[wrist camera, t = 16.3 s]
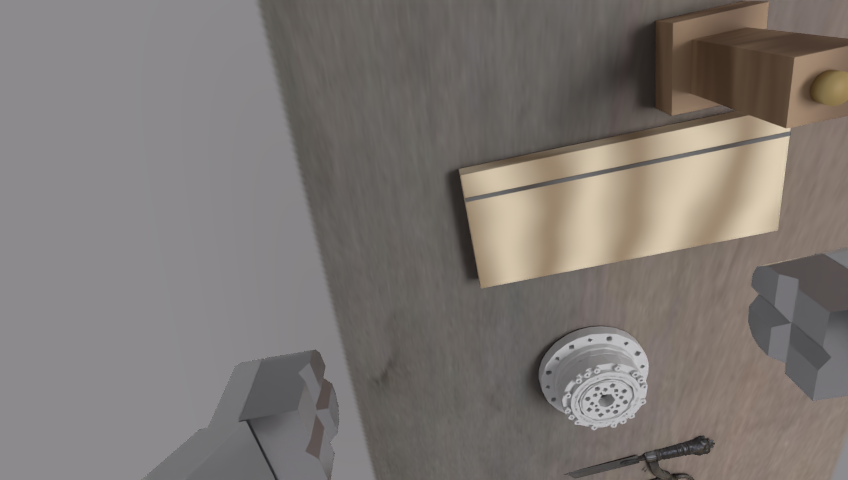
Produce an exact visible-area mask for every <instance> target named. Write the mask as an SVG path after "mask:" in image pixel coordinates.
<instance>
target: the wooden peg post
mask: <svg viewBox="0 0 848 480" xmlns="http://www.w3.org/2000/svg"><path fill="white" fill-rule="evenodd" d="M768 6H769V2H762V1H742V2H737V3H733V4H729V5H724V6H720V7H715V8H711V9H706V10H702V11H697V12H693V13H688V14H684V15H679V16H675V17H670V18H666V19H661V20H657V21H655V108H657V109H659V110H661V111H663V112H665V113H667V114H669V115H671V116H673V115H677V114H682V113H687V112H691V111H696V110H701V109H705V108H710V107H715V106H720V105H723V106H726V107H729V108H731V109H734V110H737V111H739V112H742V113H745V114H748V115H750V116H753V117H756V118H759V119H761V120H764V121H767V122H769V123H772V124H775V125H778V126H780V127H783V128H786V129H787V128H791V127H796V126H801V125H806V124H811V123H815V122H820V121H825V120H830V119H835V118H839V117H844V116H848V39H845V38H837V37H828V36H819V35H810V34H802V33H793V32H784V31H776V30H767V29H766V28H767V17H768Z"/></svg>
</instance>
